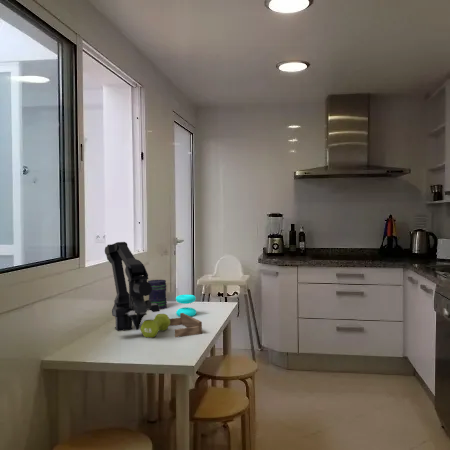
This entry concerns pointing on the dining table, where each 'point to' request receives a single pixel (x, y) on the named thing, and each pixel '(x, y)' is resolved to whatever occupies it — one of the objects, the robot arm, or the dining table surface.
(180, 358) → the dining table surface
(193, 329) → the walnut corral
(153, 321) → the dumbbell
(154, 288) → the storage jar
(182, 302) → the donuts
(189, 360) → the dining table surface
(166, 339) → the dining table surface
